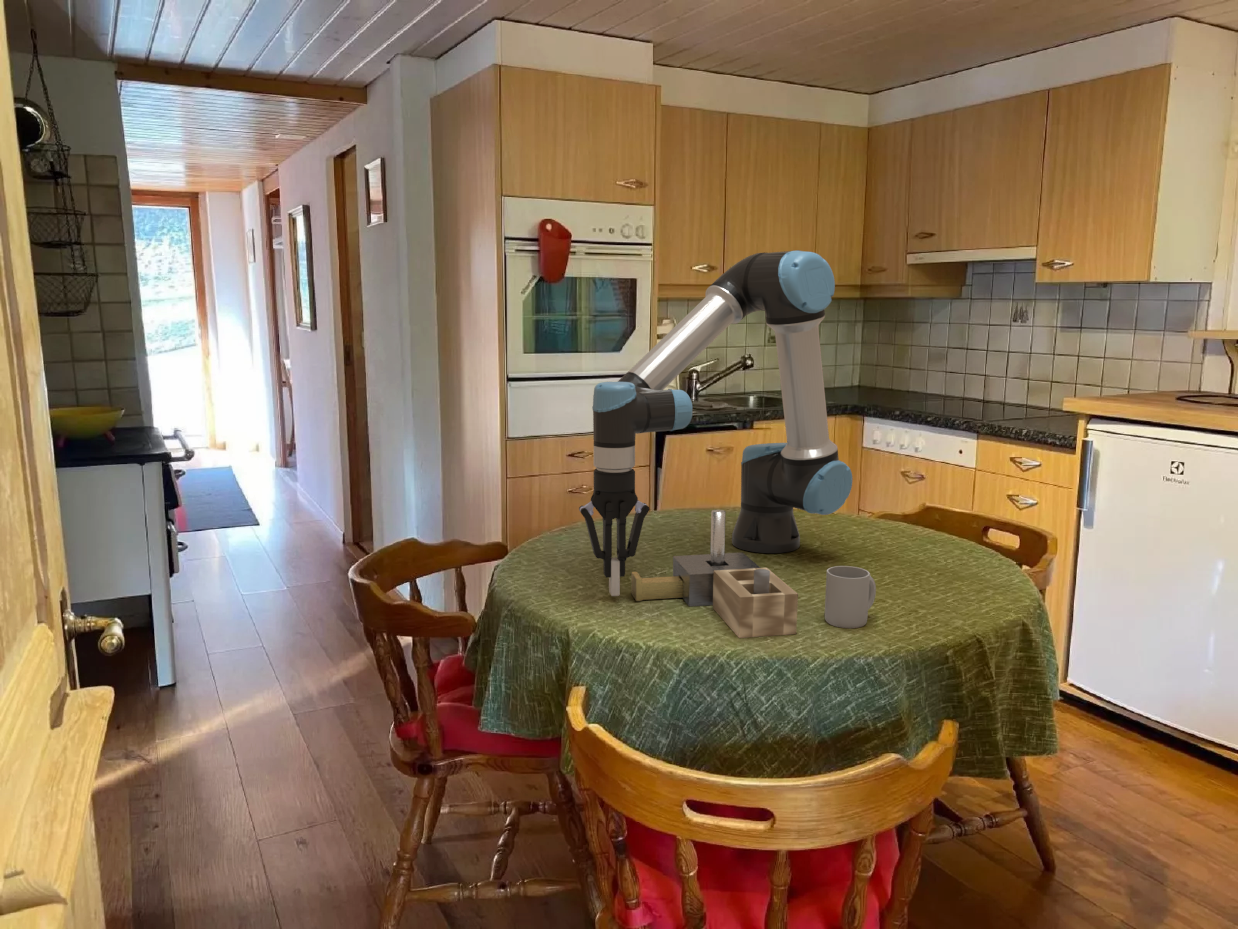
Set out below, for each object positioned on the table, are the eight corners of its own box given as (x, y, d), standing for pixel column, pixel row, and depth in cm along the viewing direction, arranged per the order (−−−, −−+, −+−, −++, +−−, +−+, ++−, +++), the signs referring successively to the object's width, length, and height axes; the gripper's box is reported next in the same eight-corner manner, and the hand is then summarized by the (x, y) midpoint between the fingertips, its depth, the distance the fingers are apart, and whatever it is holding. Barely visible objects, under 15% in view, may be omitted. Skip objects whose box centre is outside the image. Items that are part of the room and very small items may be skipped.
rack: (765, 604, 169) (767, 551, 167) (796, 633, 154) (798, 576, 152) (712, 607, 167) (713, 554, 165) (739, 637, 152) (740, 579, 151)
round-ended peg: (721, 591, 176) (723, 509, 173) (725, 595, 174) (727, 512, 171) (707, 591, 176) (709, 510, 173) (711, 596, 173) (713, 513, 170)
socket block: (741, 581, 182) (742, 552, 181) (762, 601, 170) (763, 570, 169) (672, 585, 179) (673, 556, 178) (689, 606, 168) (689, 574, 166)
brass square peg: (682, 590, 176) (683, 569, 175) (688, 598, 171) (689, 576, 171) (631, 593, 174) (631, 572, 173) (636, 601, 169) (636, 579, 169)
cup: (815, 618, 162) (817, 569, 160) (858, 609, 166) (861, 561, 165) (844, 631, 155) (846, 580, 154) (888, 621, 160) (890, 572, 158)
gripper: (645, 463, 171) (644, 585, 176) (575, 465, 169) (576, 589, 173) (654, 470, 164) (653, 597, 168) (581, 473, 162) (582, 602, 166)
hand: (614, 593), depth 171 cm, fingers closed
